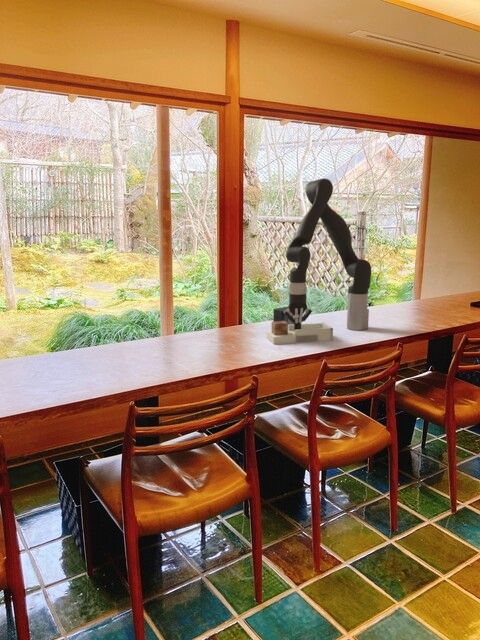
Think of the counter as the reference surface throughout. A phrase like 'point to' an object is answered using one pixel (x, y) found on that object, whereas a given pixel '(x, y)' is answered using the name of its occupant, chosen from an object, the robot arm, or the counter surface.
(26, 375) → the counter surface
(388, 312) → the counter surface
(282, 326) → the block
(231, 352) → the counter surface
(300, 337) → the channel
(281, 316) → the small box
